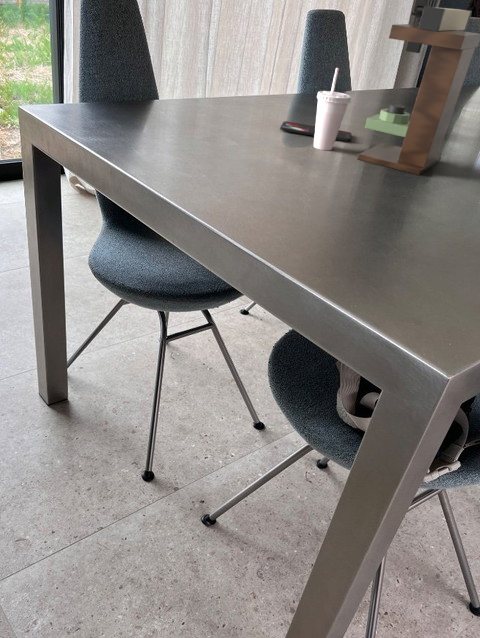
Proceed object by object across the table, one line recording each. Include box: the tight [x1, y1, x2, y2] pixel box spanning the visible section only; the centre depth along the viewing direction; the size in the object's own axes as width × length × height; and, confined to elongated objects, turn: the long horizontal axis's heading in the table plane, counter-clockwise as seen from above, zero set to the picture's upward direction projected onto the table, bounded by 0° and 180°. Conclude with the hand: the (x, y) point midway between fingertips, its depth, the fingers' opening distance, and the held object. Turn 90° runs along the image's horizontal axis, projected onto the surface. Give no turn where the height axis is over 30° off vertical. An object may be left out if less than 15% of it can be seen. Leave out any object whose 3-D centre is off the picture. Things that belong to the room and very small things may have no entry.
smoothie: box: [313, 67, 352, 151], centre depth 108 cm, size 6×6×14 cm
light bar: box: [418, 6, 473, 31], centre depth 99 cm, size 3×22×3 cm, turn 147°
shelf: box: [357, 23, 480, 176], centre depth 104 cm, size 12×14×22 cm
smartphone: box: [279, 121, 352, 143], centre depth 121 cm, size 7×1×15 cm
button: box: [387, 103, 406, 114], centre depth 130 cm, size 4×4×2 cm
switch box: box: [364, 108, 411, 138], centre depth 131 cm, size 10×8×4 cm
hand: (412, 51), depth 123 cm, fingers closed
